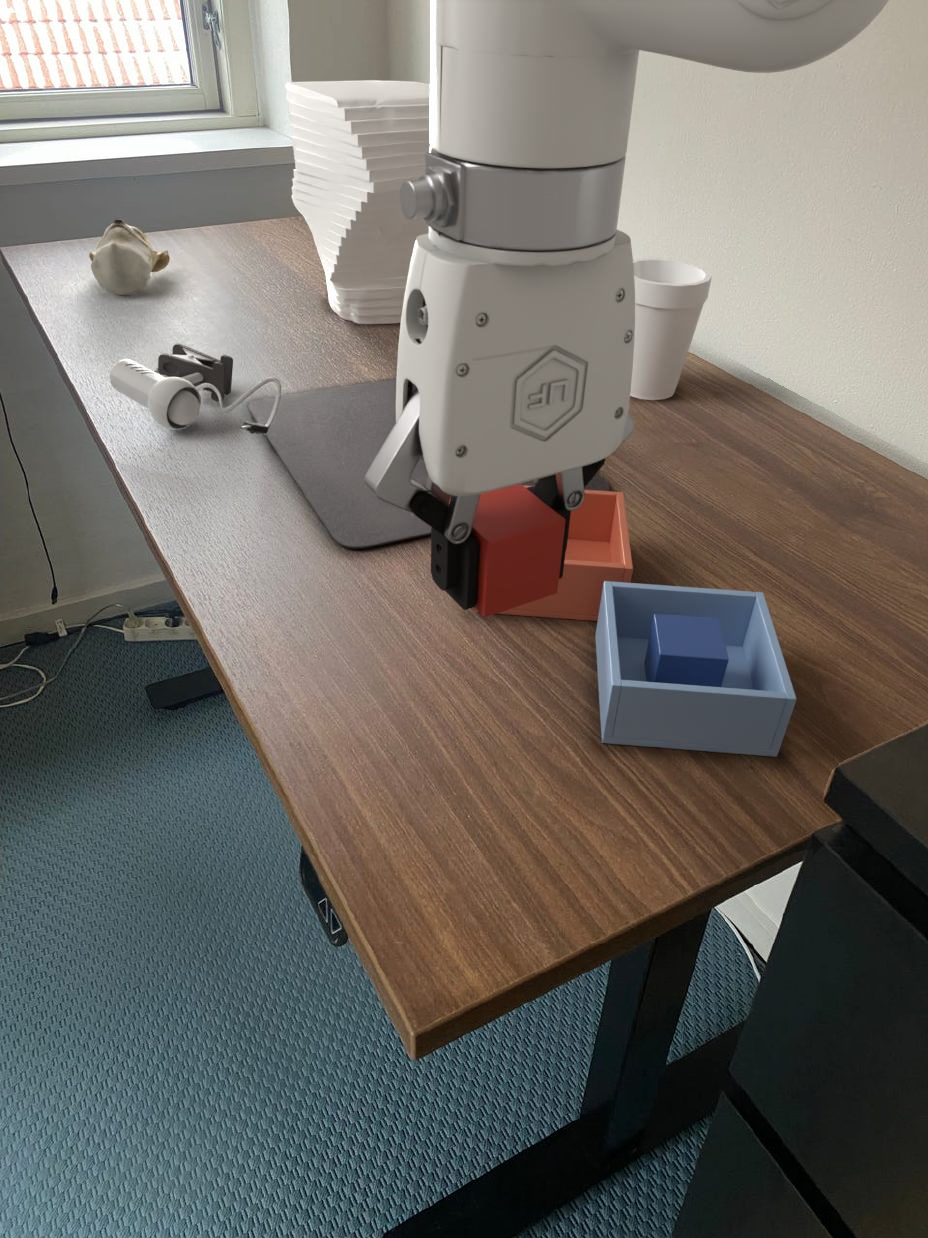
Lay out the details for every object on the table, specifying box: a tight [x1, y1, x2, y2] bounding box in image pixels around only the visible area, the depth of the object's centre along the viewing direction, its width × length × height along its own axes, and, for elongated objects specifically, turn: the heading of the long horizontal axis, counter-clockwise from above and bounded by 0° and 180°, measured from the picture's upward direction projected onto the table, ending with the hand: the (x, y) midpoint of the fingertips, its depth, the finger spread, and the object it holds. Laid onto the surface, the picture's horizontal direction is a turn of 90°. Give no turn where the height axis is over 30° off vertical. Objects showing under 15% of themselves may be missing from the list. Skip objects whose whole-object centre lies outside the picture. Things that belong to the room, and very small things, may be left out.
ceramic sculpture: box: [88, 218, 171, 296], centre depth 125 cm, size 11×9×15 cm
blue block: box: [644, 614, 729, 687], centre depth 62 cm, size 4×4×4 cm
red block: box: [449, 484, 566, 618], centre depth 46 cm, size 4×4×4 cm
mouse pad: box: [248, 377, 611, 550], centre depth 91 cm, size 32×27×1 cm
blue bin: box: [594, 581, 797, 758], centre depth 62 cm, size 11×11×5 cm
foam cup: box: [630, 257, 713, 401], centre depth 101 cm, size 10×9×13 cm
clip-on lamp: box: [109, 342, 282, 435], centre depth 93 cm, size 12×6×18 cm
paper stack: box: [284, 79, 430, 325], centre depth 115 cm, size 21×27×26 cm
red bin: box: [475, 485, 634, 622], centre depth 73 cm, size 11×11×5 cm
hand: (498, 577), depth 47 cm, fingers closed on red block, 4 cm apart
